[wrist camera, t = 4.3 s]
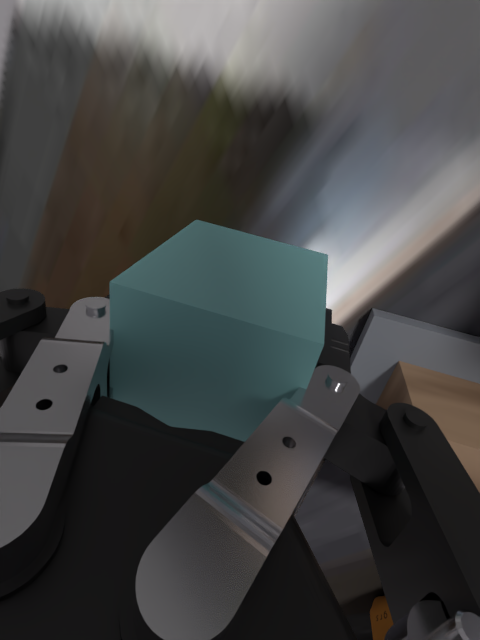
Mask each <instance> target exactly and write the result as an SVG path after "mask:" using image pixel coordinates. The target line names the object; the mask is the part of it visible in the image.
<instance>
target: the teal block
mask: <svg viewBox="0 0 480 640" xmlns="http://www.w3.org/2000/svg"><path fill="white" fill-rule="evenodd" d="M327 264H328V255H327V254H323V253H319V252H316V251H312V250H308V249H304V248H301V247H297V246H293V245H289V244H286V243H282V242H278V241H275V240H271V239H267V238H263V237H260V236H256V235H252V234H248V233H245V232H241V231H237V230H233V229H230V228H226V227H222V226H218V225H215V224H211V223H207V222H203V221H200V220H195V221H194V222H192V223H191V224H189V225H188V226H187V227H185V228H184V229H182V230H181V231H180V232H178V233H177V234H176V235H174V236H173V237H171V238H170V239H169V240H167V241H166V242H164V243H163V244H162V245H160V246H159V247H157V248H156V249H155V250H153V251H152V252H151V253H149V254H148V255H146V256H145V257H144V258H142V259H141V260H139V261H138V262H137V263H135V264H134V265H132V266H131V267H130V268H128V269H127V270H126V271H124V272H123V273H121V274H120V275H119V276H117V277H116V278H114V279H113V280H112V281H110V329H112V330H114V345H113V348H112V352H111V355H110V387H112V388H113V399H115V400H118V401H121V402H124V403H127V404H130V405H133V406H136V407H138V408H140V409H142V410H143V411H145V412H147V413H148V414H150V415H152V416H153V417H155V418H157V419H158V420H160V421H162V422H163V423H165V424H166V425H168V426H171V427H179V428H188V429H197V430H207V431H213V432H216V433H219V434H222V435H225V436H228V437H231V438H235V439H238V440H241V441H244V442H245V441H246V440H247V439H248V438H249V437H250V435H251V434H252V433H253V432H254V431H255V430H256V428H257V427H258V426H259V425H260V424H261V423H262V421H263V420H264V419H265V418H266V417H267V416H268V414H269V413H270V412H271V411H272V410H273V409H274V407H275V406H276V405H277V404H278V403H279V402H280V401H281V400H282V399H283V398H287V399H288V400H290V398H291V397H292V396H293V395H294V393H295V392H296V391H297V390H298V389H299V387H301V388H304V389H307V387H308V384H309V382H310V379H311V377H312V374H313V372H314V369H315V366H316V364H317V361H318V359H319V356H320V354H321V351H322V349H323V346H324V336H325V312H326V288H327Z"/></svg>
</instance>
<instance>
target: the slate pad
mask: <svg viewBox="0 0 480 640" xmlns="http://www.w3.org/2000/svg"><path fill="white" fill-rule="evenodd" d="M398 361H401V362H405V363H409V364H412V365H416V366H419V367H423V368H426V369H430V370H433V371H437V372H440V373H444V374H447V375H451V376H454V377H458V378H461V379H465V380H468V381H472V382H475V383H479V384H480V337H477V336H473V335H470V334H466V333H462V332H459V331H455V330H451V329H448V328H444V327H440V326H437V325H433V324H429V323H426V322H422V321H418V320H415V319H411V318H407V317H404V316H400V315H396V314H393V313H389V312H385V311H382V310H378V309H374V308H372V310H371V312H370V315H369V317H368V319H367V321H366V324H365V326H364V328H363V330H362V333H361V335H360V337H359V339H358V342H357V344H356V346H355V348H354V351H353V353H352V355H351V357H350V367H351V375H352V376H354V377H355V379H356V380H357V381H358V383H359V385H360V394H361V395H362V396H363V397H365V398H366V399H367V400H369V401H371V402H372V403H374V404H376V403H377V401H378V399H379V397H380V395H381V393H382V391H383V390H384V388H385V386H386V384H387V382H388V380H389V378H390V376H391V375H392V373H393V371H394V369H395V367H396V365H397V363H398Z"/></svg>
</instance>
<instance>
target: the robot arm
mask: <svg viewBox="0 0 480 640" xmlns="http://www.w3.org/2000/svg"><path fill="white" fill-rule="evenodd" d="M113 345H114V330H112V329H110V294H109V295H108V296H106V297H105V298H102V297H89V298H84V299H81V300H78V301H77V302H75V303H74V304H73V305H72V306H71V308H70V309H61V308H51V307H46V305H45V297H44V295H43V294H41V293H40V292H38V291H35V290H31V289H10V290H6V291H2V292H0V352H1V357H0V407H1V406H2V407H1V409H0V640H357V638H356V636H355V634H354V632H353V630H352V628H351V627H350V625H349V623H348V621H347V619H346V617H345V615H344V613H343V611H342V609H341V607H340V605H339V603H338V601H337V599H336V597H335V595H334V593H333V591H332V589H331V587H330V586H329V584H328V582H327V580H326V578H325V576H324V574H323V572H322V570H321V568H320V566H319V564H318V562H317V560H316V558H315V556H314V554H313V552H312V550H311V548H310V546H309V545H308V543H307V541H306V539H305V537H304V535H303V533H302V531H301V529H300V527H299V525H298V523H297V521H296V519H295V516H296V514H297V512H298V510H299V508H300V506H301V504H302V502H303V500H304V498H305V497H306V495H307V493H308V491H309V489H310V487H311V486H312V484H313V482H314V480H315V478H316V476H317V475H318V473H319V471H320V469H321V467H322V465H323V463H324V462H325V460H328V461H329V462H331V463H333V464H334V465H336V466H337V467H339V468H341V469H342V470H344V471H345V472H347V473H349V474H350V479H351V483H352V486H353V490H354V493H355V496H356V500H357V503H358V507H359V510H360V513H361V517H362V520H363V523H364V527H365V530H366V533H367V537H368V540H369V543H370V547H371V550H372V554H373V557H374V560H375V564H376V567H377V570H378V574H379V577H380V580H381V584H382V587H383V590H384V594H385V597H386V601H387V604H388V607H389V611H390V614H391V617H392V621H393V625H392V626H391V627H390V629H389V630H388V631H387V633H386V635H385V638H384V640H480V493H479V491H478V489H477V488H476V486H475V484H474V483H473V481H472V480H471V478H470V476H469V475H468V473H467V471H466V470H465V468H464V467H463V465H462V463H461V462H460V460H459V458H458V457H457V455H456V454H455V452H454V450H453V449H452V447H451V445H450V444H449V442H448V441H447V439H446V437H445V436H444V434H443V432H442V431H441V429H440V428H439V426H438V424H437V423H436V422H435V421H434V419H433V418H432V417H430V416H429V415H428V414H427V413H426V412H424V411H423V410H421V409H419V408H417V407H415V406H413V405H410V404H407V403H393V404H391V405H390V406H389V407H388V409H387V410H385V409H383V408H382V407H380V406H378V405H376V404H374V403H372V402H371V401H369V400H367V399H366V398H365V397H363V396H362V395H361V394H360V385H359V383H358V381H357V380H356V379H355V377H354V376H352V375H351V367H350V353H349V338H348V334H347V333H346V331H345V330H344V328H343V327H342V326H339V325H335V324H332V310H331V309H327V308H326V312H325V336H324V346H323V349H322V351H321V354H320V356H319V359H318V361H317V364H316V366H315V369H314V372H313V374H312V377H311V379H310V382H309V384H308V387H307V389H304V388H301V387H299V389H298V390H297V391H296V392H295V393H294V395H293V396H292V397H291V398H290V400H288V399H287V398H283V399H282V400H281V401H280V402H279V403H278V404H277V405H276V406H275V407H274V409H273V410H272V411H271V412H270V413H269V414H268V416H267V417H266V418H265V419H264V420H263V421H262V423H261V424H260V425H259V426H258V427H257V428H256V430H255V431H254V432H253V433H252V434H251V435H250V437H249V438H248V439H247V440H246V441H245V442H244V441H241V440H238V439H235V438H231V437H228V436H225V435H222V434H219V433H216V432H213V431H207V430H197V429H188V428H179V427H171V426H168V425H166V424H165V423H163V422H162V421H160V420H158V419H157V418H155V417H153V416H152V415H150V414H148V413H147V412H145V411H143V410H142V409H140V408H138V407H136V406H133V405H130V404H127V403H124V402H121V401H118V400H115V399H113V388H112V387H110V355H111V352H112V348H113Z"/></svg>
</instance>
